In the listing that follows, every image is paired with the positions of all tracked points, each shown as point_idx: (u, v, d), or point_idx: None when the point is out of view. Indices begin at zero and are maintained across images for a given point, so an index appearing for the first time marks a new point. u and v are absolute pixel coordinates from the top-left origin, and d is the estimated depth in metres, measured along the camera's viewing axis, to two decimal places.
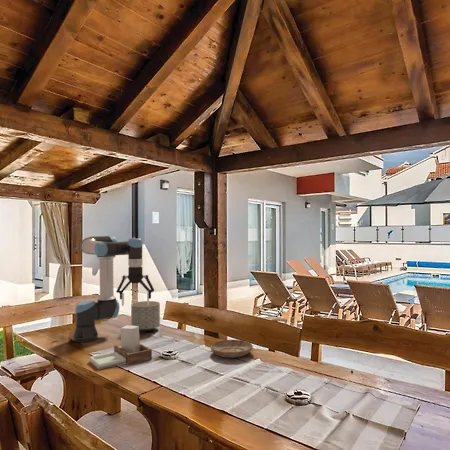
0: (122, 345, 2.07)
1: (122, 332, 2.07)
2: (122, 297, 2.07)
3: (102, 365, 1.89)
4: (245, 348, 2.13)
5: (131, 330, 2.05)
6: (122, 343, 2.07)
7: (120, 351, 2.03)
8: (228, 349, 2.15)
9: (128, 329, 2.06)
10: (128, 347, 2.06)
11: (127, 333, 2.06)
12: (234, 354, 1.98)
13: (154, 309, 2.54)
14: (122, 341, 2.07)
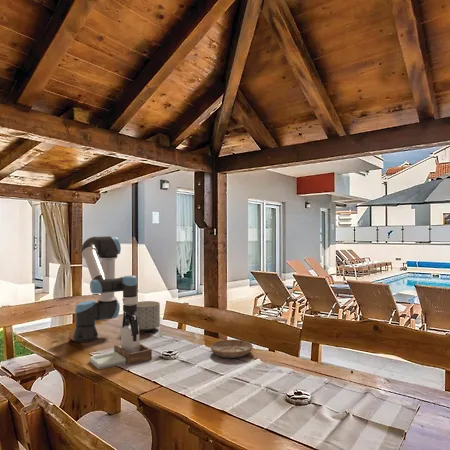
0: (122, 345, 2.07)
1: (122, 332, 2.07)
2: None
3: (102, 365, 1.89)
4: (245, 348, 2.13)
5: None
6: (122, 343, 2.07)
7: (120, 351, 2.03)
8: (228, 349, 2.15)
9: (128, 329, 2.06)
10: (128, 347, 2.06)
11: (127, 333, 2.06)
12: (234, 354, 1.98)
13: (154, 309, 2.54)
14: (122, 341, 2.07)
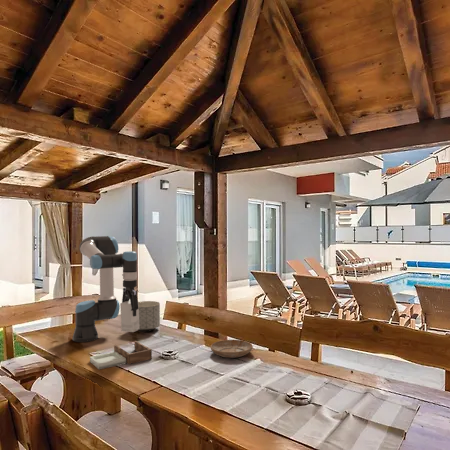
0: (122, 320, 2.07)
1: (122, 307, 2.07)
2: None
3: (102, 365, 1.89)
4: (245, 348, 2.13)
5: None
6: (122, 318, 2.07)
7: (120, 351, 2.03)
8: (228, 349, 2.15)
9: (128, 304, 2.06)
10: (127, 322, 2.06)
11: (127, 308, 2.06)
12: (234, 354, 1.98)
13: (154, 309, 2.54)
14: (122, 316, 2.07)
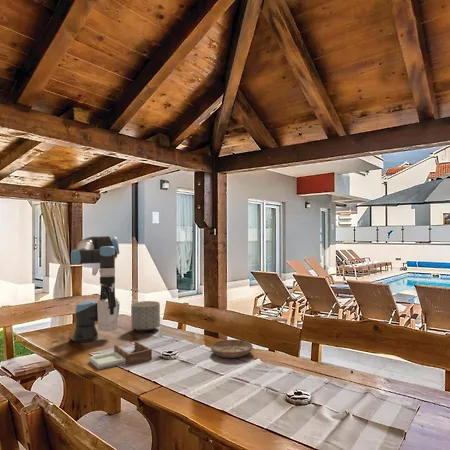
0: (99, 319, 1.95)
1: (99, 305, 1.95)
2: None
3: (102, 365, 1.89)
4: (245, 348, 2.13)
5: None
6: (99, 317, 1.95)
7: (120, 351, 2.03)
8: (228, 349, 2.15)
9: (105, 302, 1.94)
10: (105, 321, 1.94)
11: (104, 306, 1.94)
12: (234, 354, 1.98)
13: (154, 309, 2.54)
14: (99, 315, 1.95)
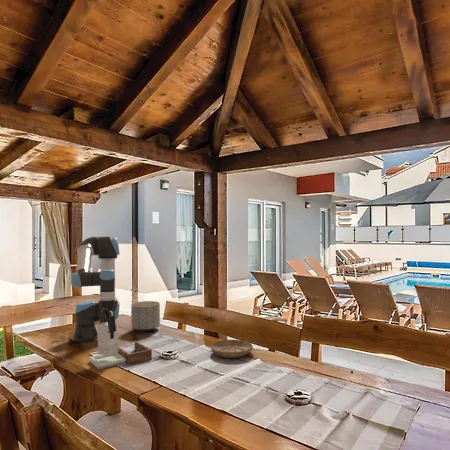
0: (99, 343, 1.95)
1: (99, 329, 1.95)
2: None
3: (102, 365, 1.89)
4: (245, 348, 2.13)
5: (108, 327, 1.93)
6: (99, 341, 1.95)
7: (120, 351, 2.03)
8: (228, 349, 2.15)
9: (105, 326, 1.94)
10: (105, 345, 1.94)
11: (104, 330, 1.94)
12: (234, 354, 1.98)
13: (154, 309, 2.54)
14: (99, 338, 1.95)
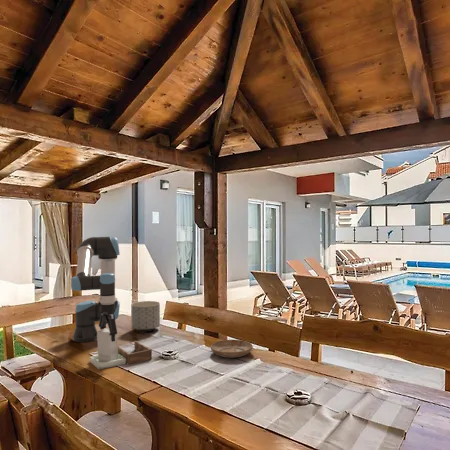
0: (99, 350, 1.96)
1: (99, 336, 1.96)
2: None
3: (102, 365, 1.89)
4: (245, 348, 2.13)
5: (108, 334, 1.94)
6: (99, 347, 1.96)
7: (120, 351, 2.03)
8: (228, 349, 2.15)
9: (105, 333, 1.94)
10: (105, 352, 1.94)
11: (104, 337, 1.94)
12: (234, 354, 1.98)
13: (154, 309, 2.54)
14: (99, 345, 1.96)
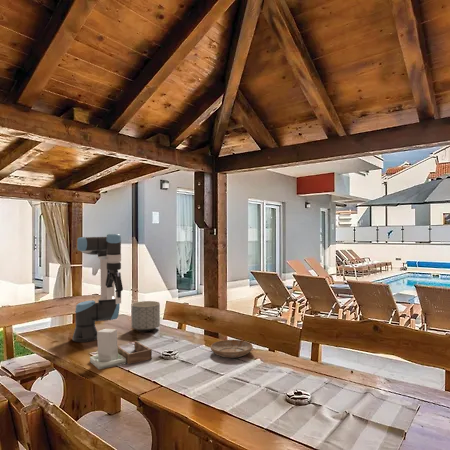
0: (99, 350, 1.96)
1: (99, 336, 1.96)
2: (107, 291, 2.11)
3: (102, 365, 1.89)
4: (245, 348, 2.13)
5: (108, 334, 1.94)
6: (99, 347, 1.96)
7: (120, 351, 2.03)
8: (228, 349, 2.15)
9: (105, 333, 1.94)
10: (105, 352, 1.94)
11: (104, 337, 1.94)
12: (234, 354, 1.98)
13: (154, 309, 2.54)
14: (99, 345, 1.96)
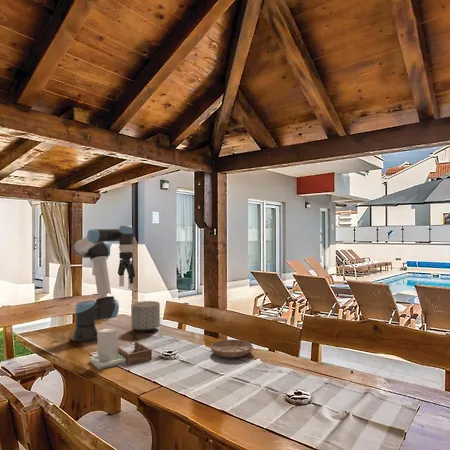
0: (99, 350, 1.96)
1: (99, 336, 1.96)
2: (119, 279, 2.28)
3: (102, 365, 1.89)
4: (245, 348, 2.13)
5: (108, 334, 1.94)
6: (99, 347, 1.96)
7: (120, 351, 2.03)
8: (228, 349, 2.15)
9: (105, 333, 1.94)
10: (105, 352, 1.94)
11: (104, 337, 1.94)
12: (234, 354, 1.98)
13: (154, 309, 2.54)
14: (99, 345, 1.96)
